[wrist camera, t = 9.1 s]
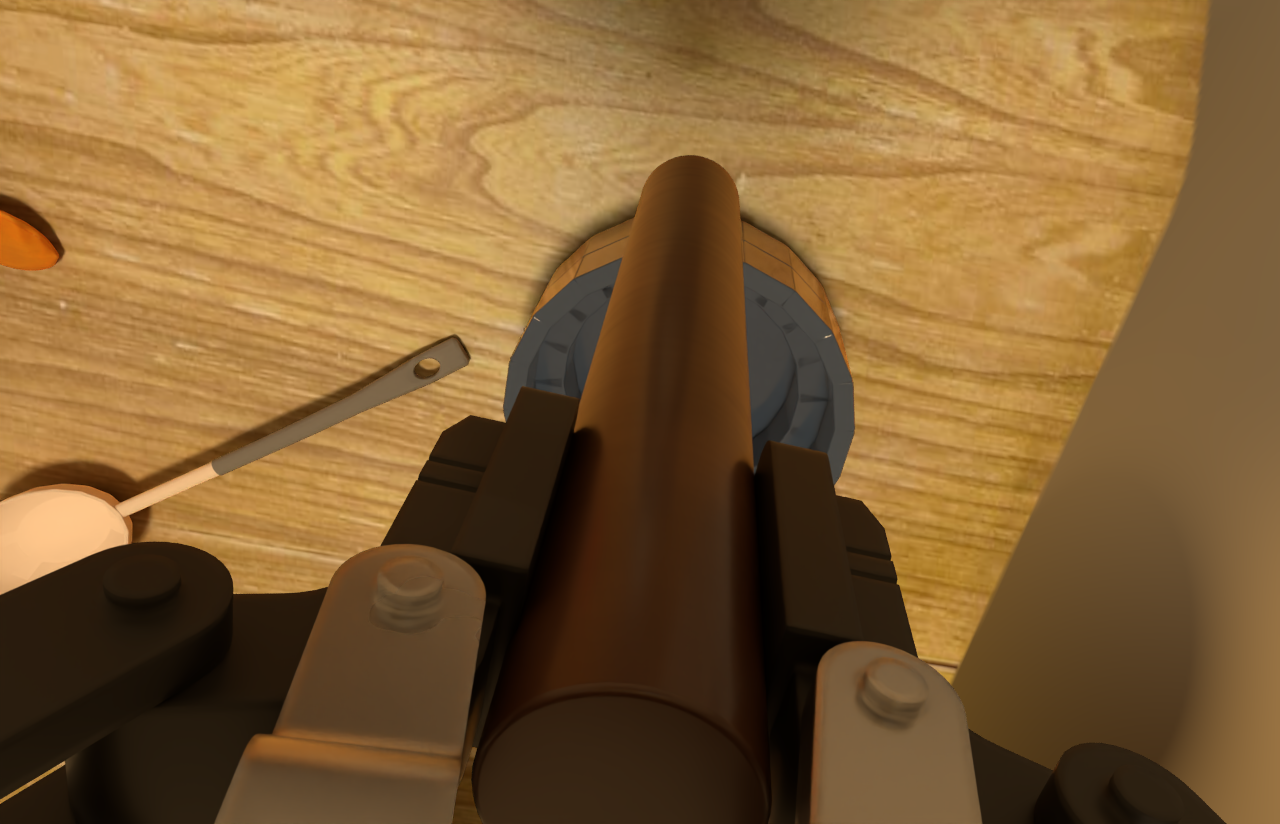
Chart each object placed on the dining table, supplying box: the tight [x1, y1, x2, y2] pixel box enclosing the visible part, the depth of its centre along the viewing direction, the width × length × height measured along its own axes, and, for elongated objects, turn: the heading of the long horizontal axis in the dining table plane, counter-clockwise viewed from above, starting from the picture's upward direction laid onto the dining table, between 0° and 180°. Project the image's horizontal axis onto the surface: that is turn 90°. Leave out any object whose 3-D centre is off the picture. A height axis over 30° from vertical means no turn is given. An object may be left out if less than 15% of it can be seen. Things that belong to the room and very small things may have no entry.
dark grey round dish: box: [503, 218, 855, 485], centre depth 41 cm, size 14×14×6 cm
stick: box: [471, 155, 772, 824], centre depth 16 cm, size 2×2×18 cm
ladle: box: [0, 337, 469, 595], centre depth 47 cm, size 6×28×5 cm, turn 116°
